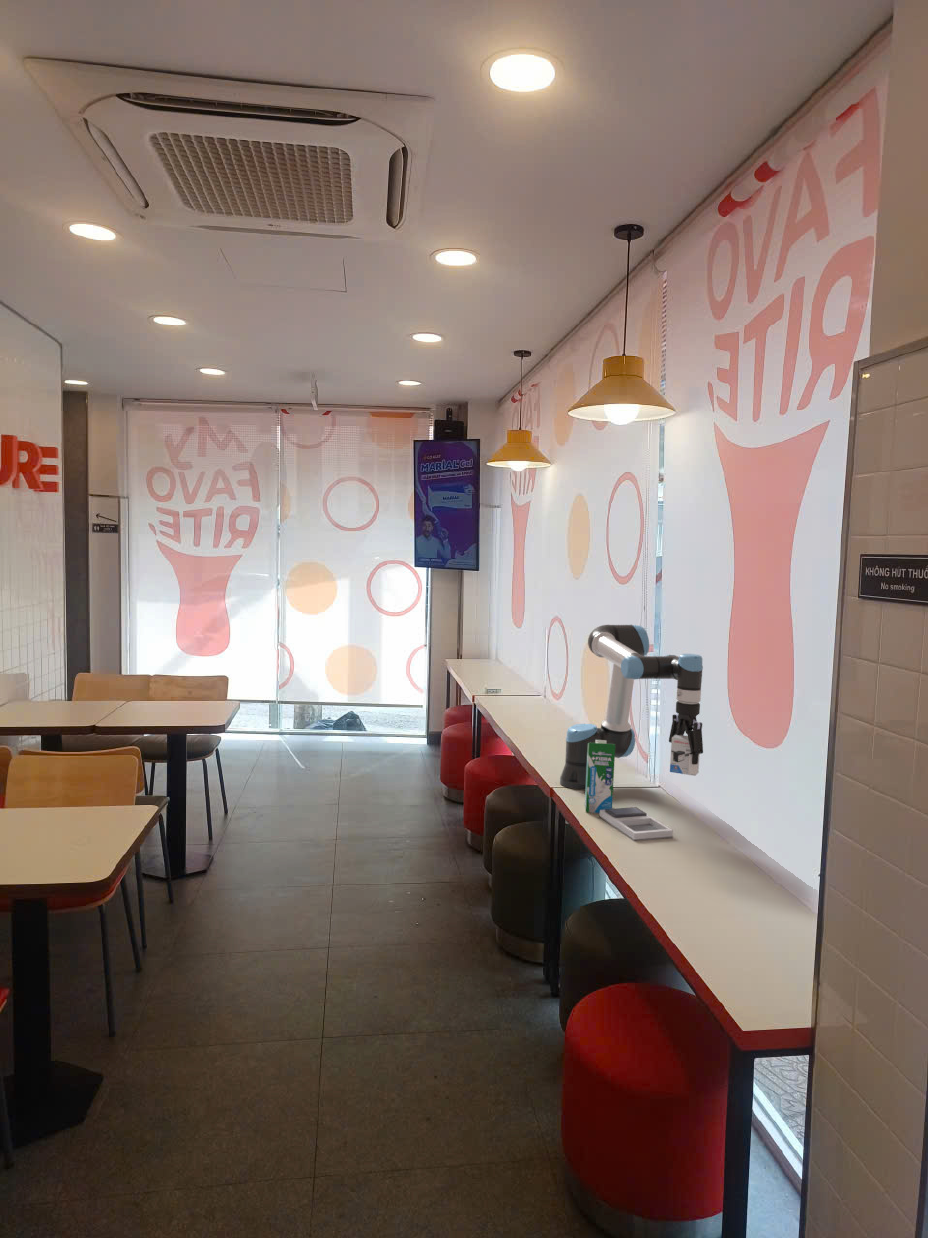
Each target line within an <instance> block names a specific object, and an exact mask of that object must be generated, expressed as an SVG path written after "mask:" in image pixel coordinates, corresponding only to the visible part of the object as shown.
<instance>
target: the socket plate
mask: <svg viewBox="0 0 928 1238" xmlns="http://www.w3.org/2000/svg"><path fill="white" fill-rule="evenodd" d="M599 818H601V819H602V820H603V821H604V822H606V823H607V824H609V825H611V827H613V828H615V829H616V830H618V831H619V832H621V834H623V835H624V836H625V837H628V838H629V839H630V840H632V841H633V842H638V841H649V840H664V839H673V837H674V836H673V835H674V830H673V829H671V828H670V827H668V826H667V825H665V824H664V823H663V822H661V821H659V820H657V819H655V818H654V817H652V816H650V815H649V814H647V815H646V816H636V817H623V818H614V817H612V816H611V815H609V814H608V813H607V812H605V810H600V813H599Z"/></svg>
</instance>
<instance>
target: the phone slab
mask: <svg viewBox="0 0 928 1238" xmlns="http://www.w3.org/2000/svg"><path fill="white" fill-rule="evenodd" d="M605 812H607V813H608V814H609V815H611V816H612V817H614V818H623V817H636V816H646V815H648V813H647V812H645V811H644V810H643V809H641V808H639V807H637V806H633V807H621V808H620V807H619V808H618V807H617V808H612V809H605Z"/></svg>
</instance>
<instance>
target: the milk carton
mask: <svg viewBox="0 0 928 1238" xmlns="http://www.w3.org/2000/svg"><path fill="white" fill-rule="evenodd" d="M606 742H607V741H606V740H596V741H595V743H588V746H587V767H586V788H585V789H584V791H585V793H584V809H585V813H591V814H592V813H594V814H600V810H605V809H613V795H614V779H615V778H614V777H615V776H614V775H615V761H616V760H615V759H616V758H615V744H606Z"/></svg>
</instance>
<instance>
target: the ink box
mask: <svg viewBox="0 0 928 1238" xmlns="http://www.w3.org/2000/svg"><path fill="white" fill-rule="evenodd" d="M670 745H671V746H670V760H669V761H670V762H669V763H670V764H669V772H670V773H673V774H681V775H688V776H694V777H695V776H696V775H698V774H699V770H700V767H699V766H700V755H701V754H699V755H698V764H697V774H688V768H689V753H691V749H690V744H689V740H688V735H685V734H684V735H674V736H673V737H672V742H670ZM699 750H700V749H699Z"/></svg>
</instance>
